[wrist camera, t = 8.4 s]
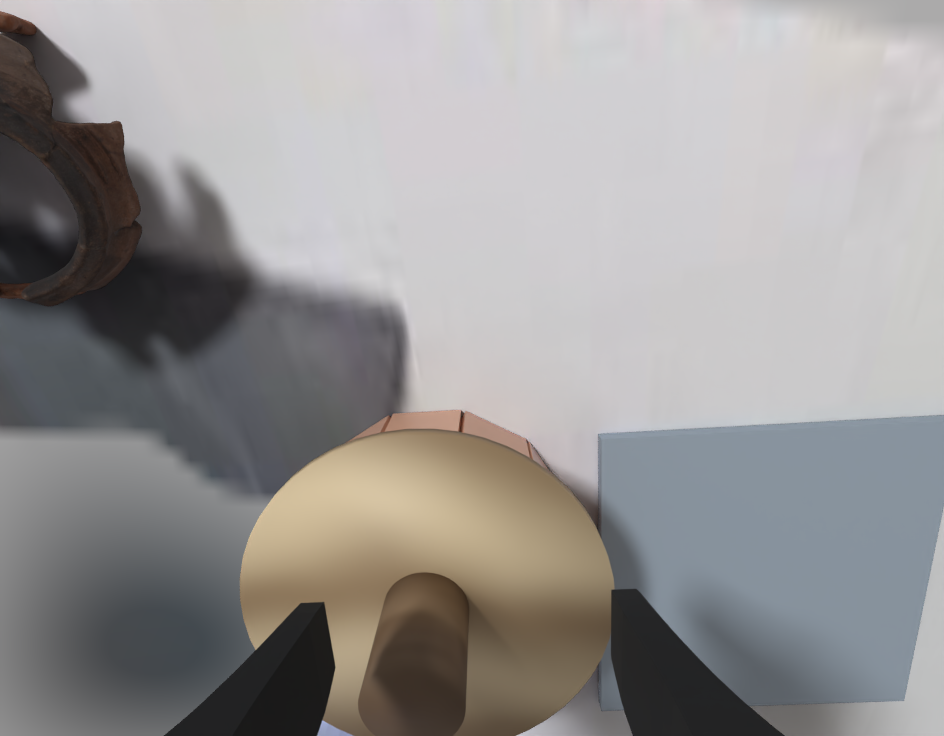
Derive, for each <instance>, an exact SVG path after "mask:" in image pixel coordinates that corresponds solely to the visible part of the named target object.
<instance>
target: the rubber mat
mask: <svg viewBox="0 0 944 736" xmlns="http://www.w3.org/2000/svg"><path fill="white" fill-rule="evenodd" d="M943 507H944V415H937V416H919V417H900V418H882V419H864V420H845V421H827V422H809V423H790V424H772V425H754V426H735V427H717V428H699V429H681V430H662V431H644V432H626V433H607V434H598V522H599V535H600V537H601V540H602V542H603V544H604V547H605V549H606V552H607V554H608V557H609V561H610V565H611V569H612V573H613V577H614V588H615V589H637V590H638V591H639V592H641V594H642V595H643V596H644V597H645V598H646V600H647V601H648V602H649V603H650V605H651V606H652V607H653V608H654V609H655V610H656V612H657V613H658V614H659V615H660V616H661V617H662V619H663V620H664V621H665V622H666V623H667V624H668V625H669V627H670V628H671V629H672V630H673V631H674V632H675V633H676V634H677V636H678V637H679V638H680V639H681V640H682V641H683V642H684V643H685V644H686V645H687V646H688V647H689V648H690V649H691V650H692V652H693V653H694V654H695V655H696V656H697V657H698V658H699V659H700V660H701V661H702V662H703V663H704V664H705V665H706V666H707V667H708V668H709V669H710V670H711V671H712V672H713V673H714V674H715V675H716V676H717V677H718V678H719V679H720V680H721V681H722V682H723V683H724V684H725V685H726V686H727V687H729V688H730V689H731V690H732V691H733V692H734V693H735V694H736V695H737V696H738V697H739V698H740V699H741V700H743V701H744V702H745V703H746V704H747V705H748V706H764V705H794V704H824V703H854V702H884V701H904V699H905V694H906V689H907V684H908V679H909V674H910V669H911V664H912V659H913V655H914V650H915V645H916V640H917V635H918V630H919V625H920V620H921V615H922V610H923V606H924V601H925V596H926V591H927V586H928V581H929V576H930V571H931V566H932V561H933V556H934V552H935V547H936V542H937V537H938V532H939V527H940V522H941V517H942V512H943ZM599 703H600V707H601V711H614V710H624V708H623V705H622V702H621V698H620V694H619V690H618V686H617V681H616V677H615V673H614V668H613V664H612V660H611V634H610V639H609V642H608V644H607V647H606V649H605V652H604V654H603V657H602V659H601V661H600V662H599Z"/></svg>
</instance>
